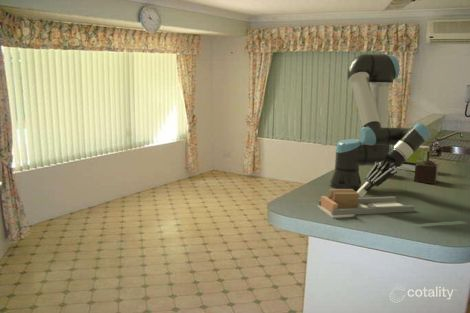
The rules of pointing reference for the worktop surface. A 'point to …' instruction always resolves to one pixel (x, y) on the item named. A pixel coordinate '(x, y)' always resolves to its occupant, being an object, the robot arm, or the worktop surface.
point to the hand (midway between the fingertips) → (358, 195)
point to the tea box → (415, 158)
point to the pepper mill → (427, 169)
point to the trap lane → (364, 206)
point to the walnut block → (344, 198)
